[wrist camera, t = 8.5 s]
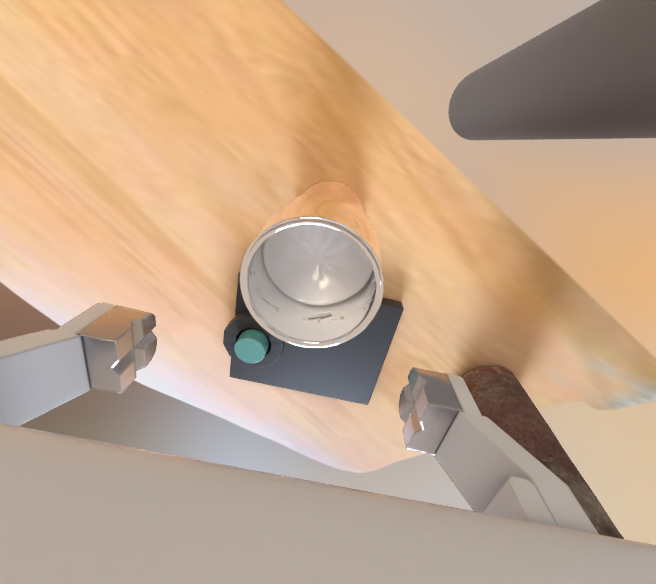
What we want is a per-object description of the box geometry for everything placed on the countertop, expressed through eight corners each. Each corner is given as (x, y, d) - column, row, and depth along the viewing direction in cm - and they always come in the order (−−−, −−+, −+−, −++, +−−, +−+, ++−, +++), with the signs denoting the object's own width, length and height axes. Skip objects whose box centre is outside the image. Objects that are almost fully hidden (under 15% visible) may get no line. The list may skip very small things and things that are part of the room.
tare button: (270, 332, 30) (267, 341, 29) (267, 356, 31) (263, 366, 30) (240, 325, 30) (235, 334, 28) (238, 350, 31) (232, 360, 30)
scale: (401, 301, 31) (406, 317, 28) (367, 396, 36) (368, 416, 34) (238, 266, 30) (227, 278, 27) (229, 368, 36) (220, 386, 33)
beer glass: (380, 236, 28) (410, 324, 14) (311, 265, 29) (280, 368, 16) (350, 160, 25) (352, 181, 12) (276, 196, 27) (204, 251, 13)
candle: (495, 418, 37) (635, 684, 19) (436, 405, 36) (522, 663, 18) (528, 370, 33) (739, 638, 15) (464, 355, 33) (604, 610, 15)
